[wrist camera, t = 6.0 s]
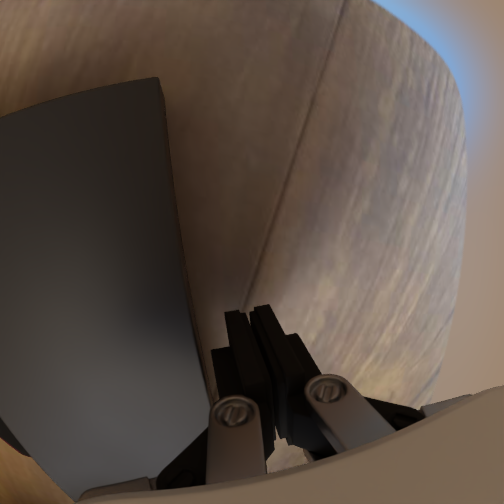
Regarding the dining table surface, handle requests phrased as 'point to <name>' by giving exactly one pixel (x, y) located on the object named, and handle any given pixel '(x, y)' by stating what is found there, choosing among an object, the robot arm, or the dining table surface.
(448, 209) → the dining table surface
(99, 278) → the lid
